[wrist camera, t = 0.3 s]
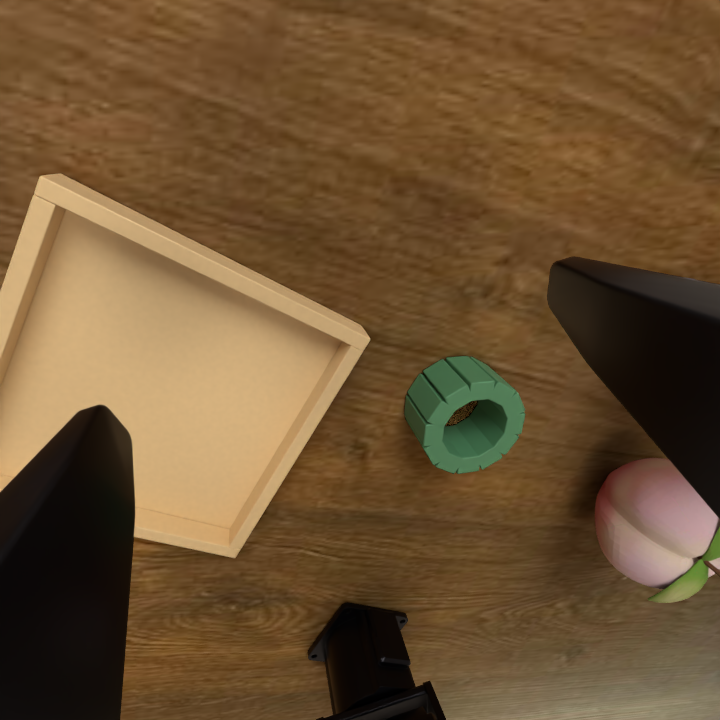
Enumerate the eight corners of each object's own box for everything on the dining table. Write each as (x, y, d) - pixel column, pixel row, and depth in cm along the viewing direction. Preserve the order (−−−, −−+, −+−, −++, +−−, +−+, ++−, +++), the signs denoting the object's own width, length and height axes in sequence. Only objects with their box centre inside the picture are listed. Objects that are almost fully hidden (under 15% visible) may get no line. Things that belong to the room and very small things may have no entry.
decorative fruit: (623, 519, 39) (732, 626, 30) (549, 518, 36) (646, 634, 28) (677, 432, 36) (818, 524, 27) (600, 423, 33) (728, 522, 24)
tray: (235, 533, 29) (235, 558, 27) (-45, 466, 23) (-70, 494, 21) (361, 325, 25) (371, 339, 23) (59, 172, 19) (39, 175, 17)
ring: (459, 451, 31) (482, 485, 28) (386, 422, 28) (403, 455, 25) (513, 378, 29) (544, 405, 26) (441, 340, 27) (466, 364, 24)
